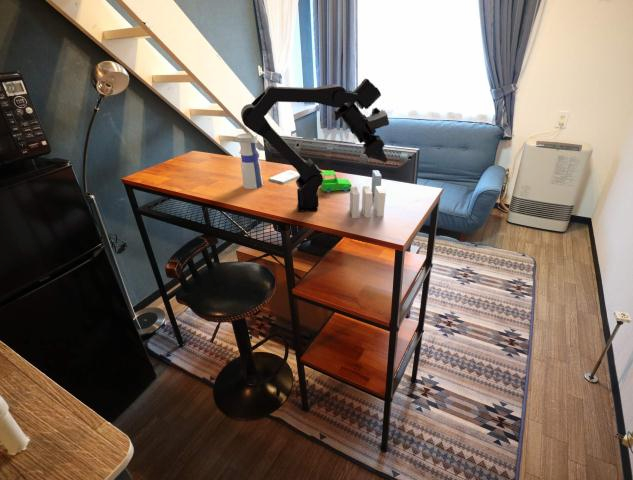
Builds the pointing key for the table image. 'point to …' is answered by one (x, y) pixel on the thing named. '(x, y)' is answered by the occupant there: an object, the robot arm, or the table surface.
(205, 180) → the table surface
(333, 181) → the toy car
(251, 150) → the water bottle
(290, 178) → the external hard drive
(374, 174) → the tile
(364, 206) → the tile
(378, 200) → the tile
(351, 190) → the tile
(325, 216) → the table surface
